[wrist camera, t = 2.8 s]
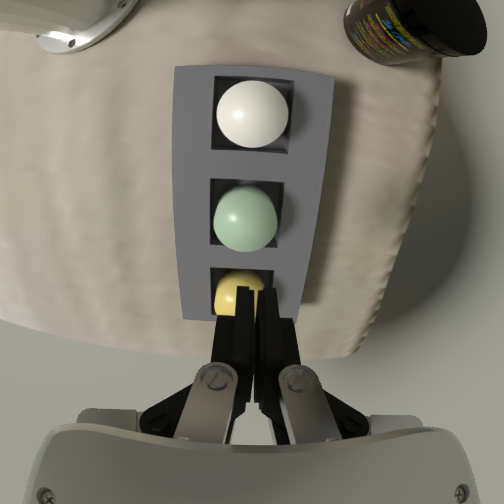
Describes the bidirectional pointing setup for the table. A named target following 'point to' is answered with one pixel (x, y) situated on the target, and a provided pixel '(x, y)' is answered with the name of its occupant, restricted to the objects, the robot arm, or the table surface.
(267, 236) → the green button
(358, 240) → the table surface
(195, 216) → the button panel
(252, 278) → the mustard button
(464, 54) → the supplement container
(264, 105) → the white button
